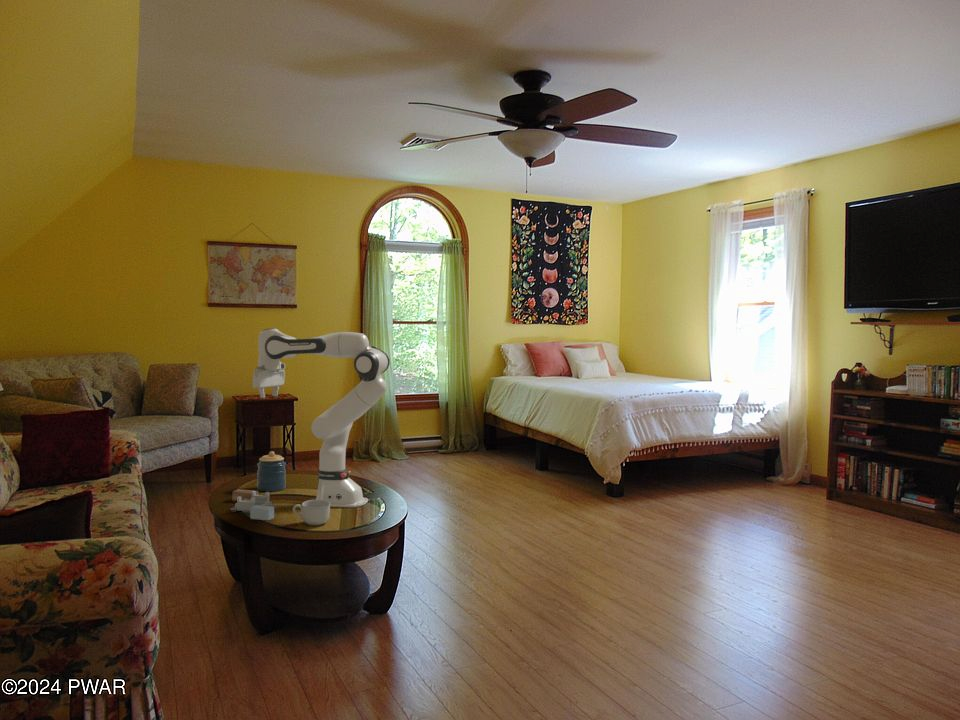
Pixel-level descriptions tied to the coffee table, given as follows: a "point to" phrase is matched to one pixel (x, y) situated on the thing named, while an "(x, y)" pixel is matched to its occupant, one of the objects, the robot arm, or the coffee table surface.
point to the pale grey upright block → (262, 512)
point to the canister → (271, 473)
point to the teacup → (314, 511)
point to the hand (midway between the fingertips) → (269, 396)
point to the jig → (252, 502)
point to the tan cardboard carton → (243, 494)
